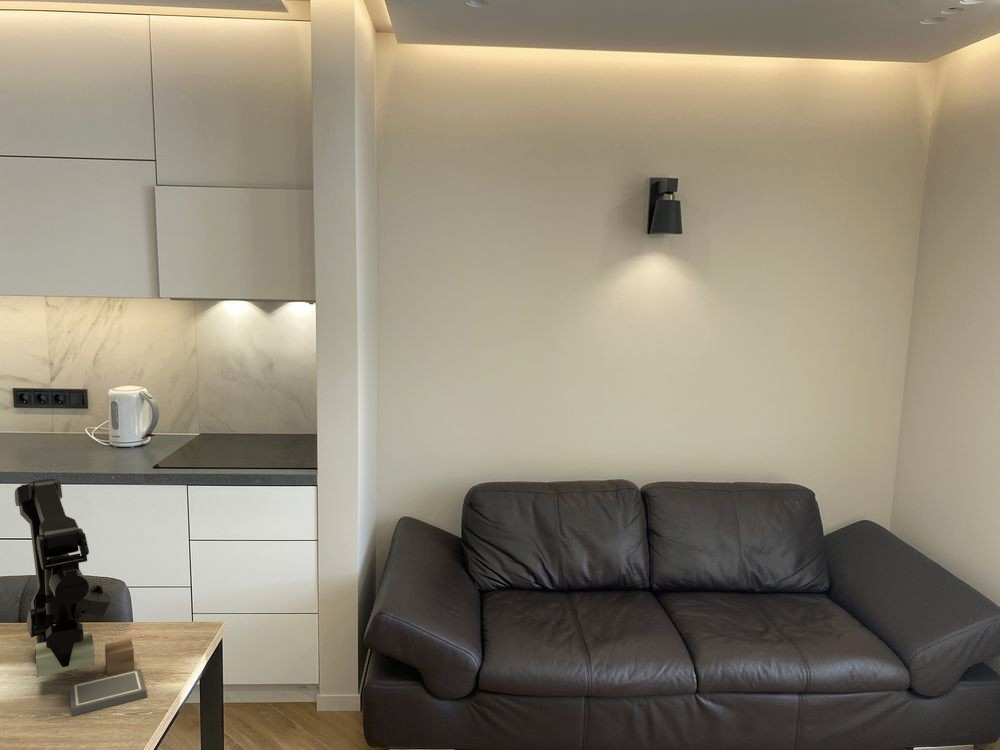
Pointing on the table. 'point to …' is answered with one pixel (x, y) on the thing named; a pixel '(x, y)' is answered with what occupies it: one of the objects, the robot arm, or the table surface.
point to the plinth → (107, 692)
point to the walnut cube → (119, 657)
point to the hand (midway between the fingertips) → (64, 658)
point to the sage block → (79, 658)
